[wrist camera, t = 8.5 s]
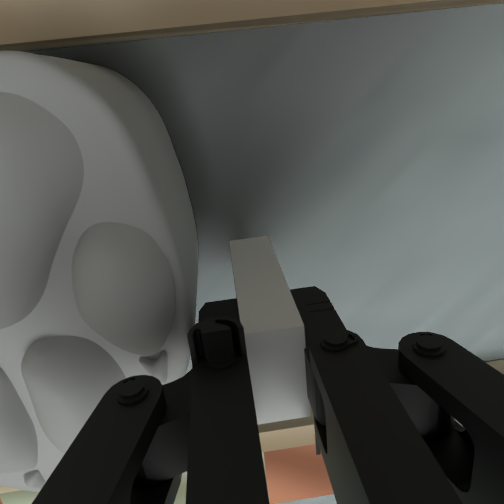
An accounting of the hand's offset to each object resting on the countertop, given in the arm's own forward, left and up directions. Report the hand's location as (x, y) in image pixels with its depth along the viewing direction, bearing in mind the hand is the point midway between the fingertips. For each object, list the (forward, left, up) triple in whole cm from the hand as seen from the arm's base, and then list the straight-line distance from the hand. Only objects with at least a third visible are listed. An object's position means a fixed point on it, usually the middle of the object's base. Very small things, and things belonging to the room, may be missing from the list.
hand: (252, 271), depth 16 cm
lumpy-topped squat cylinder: (-1, -7, -3) cm, 8 cm away
